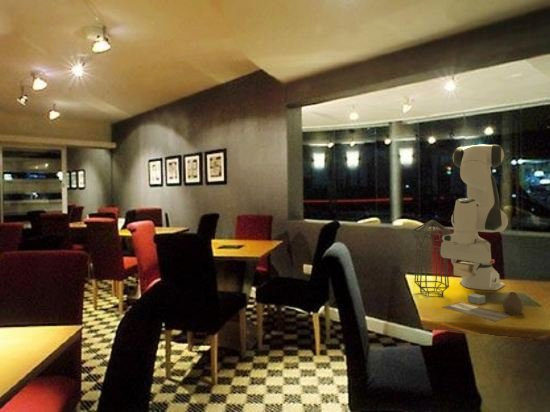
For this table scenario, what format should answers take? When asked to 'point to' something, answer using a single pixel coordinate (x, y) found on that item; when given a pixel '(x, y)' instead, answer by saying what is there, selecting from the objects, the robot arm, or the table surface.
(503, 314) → the board
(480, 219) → the robot arm
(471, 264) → the block
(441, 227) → the geometric lantern
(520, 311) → the vase
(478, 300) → the top block
